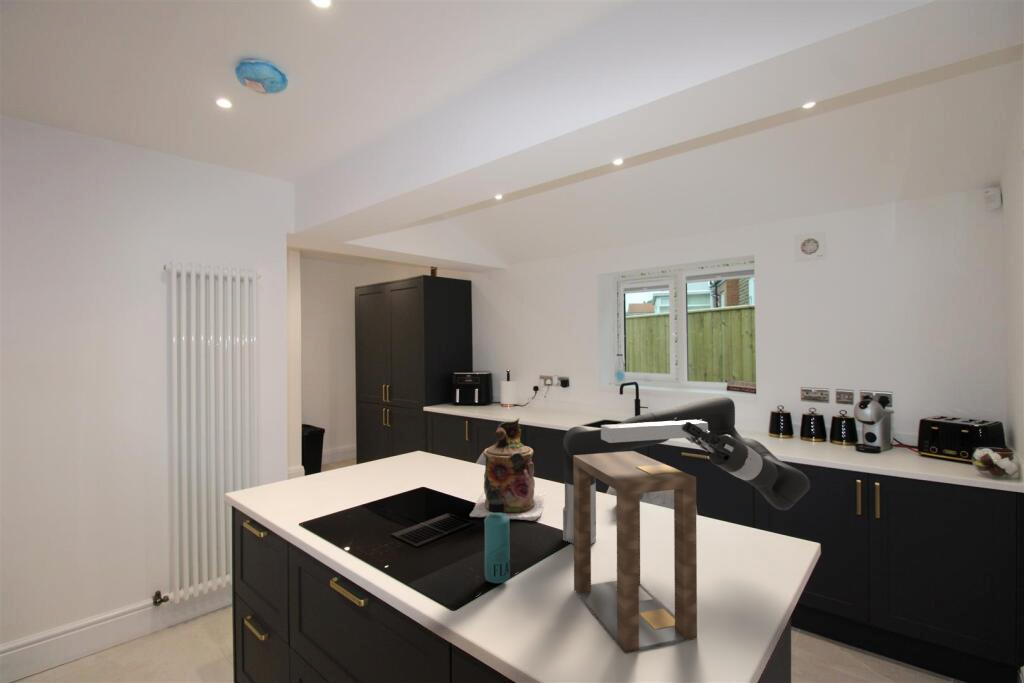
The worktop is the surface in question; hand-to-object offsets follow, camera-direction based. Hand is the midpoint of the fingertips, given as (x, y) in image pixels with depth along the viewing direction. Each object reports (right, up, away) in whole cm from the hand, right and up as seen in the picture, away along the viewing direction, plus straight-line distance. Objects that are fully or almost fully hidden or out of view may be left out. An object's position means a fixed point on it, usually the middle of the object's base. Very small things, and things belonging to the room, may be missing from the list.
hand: (679, 423), depth 105 cm
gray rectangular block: (-6, -3, -2) cm, 7 cm away
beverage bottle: (-41, -41, +11) cm, 59 cm away
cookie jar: (-38, -41, +64) cm, 85 cm away
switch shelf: (-11, -41, -2) cm, 42 cm away
